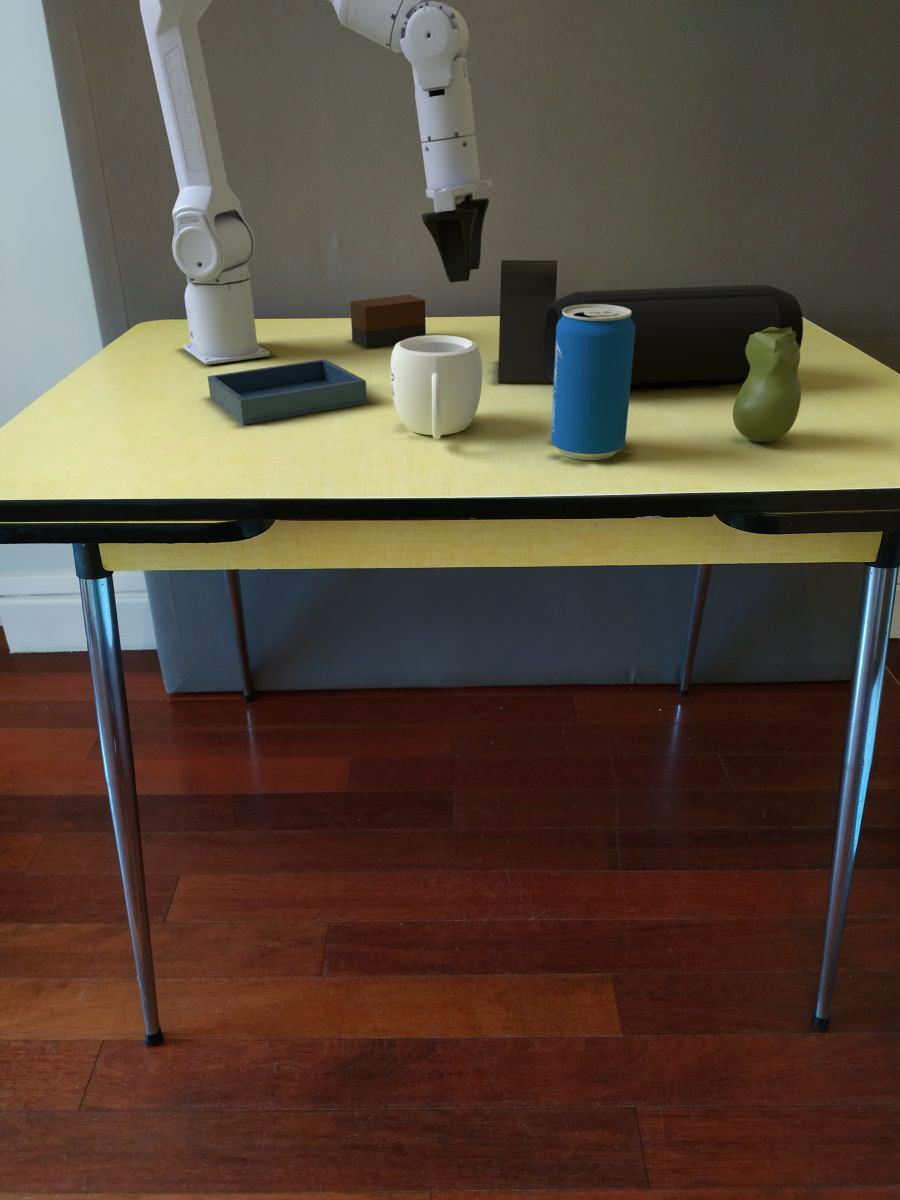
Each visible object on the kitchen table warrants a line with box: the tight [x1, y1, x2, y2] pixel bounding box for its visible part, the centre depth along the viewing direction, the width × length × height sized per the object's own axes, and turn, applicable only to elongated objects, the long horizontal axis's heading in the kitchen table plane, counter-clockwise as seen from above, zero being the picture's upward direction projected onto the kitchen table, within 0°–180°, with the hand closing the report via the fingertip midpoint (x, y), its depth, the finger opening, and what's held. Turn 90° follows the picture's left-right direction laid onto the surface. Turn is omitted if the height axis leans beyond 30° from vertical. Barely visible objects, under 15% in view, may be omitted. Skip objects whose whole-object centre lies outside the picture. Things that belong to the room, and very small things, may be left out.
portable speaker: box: [543, 284, 804, 391], centre depth 96 cm, size 26×10×10 cm, turn 99°
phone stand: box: [497, 259, 558, 385], centre depth 100 cm, size 9×6×12 cm, turn 175°
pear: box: [732, 327, 802, 443], centre depth 80 cm, size 6×5×10 cm
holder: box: [207, 358, 368, 426], centre depth 93 cm, size 10×13×2 cm
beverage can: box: [550, 304, 635, 461], centre depth 77 cm, size 6×6×12 cm
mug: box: [389, 334, 483, 441], centre depth 83 cm, size 12×8×8 cm
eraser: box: [349, 294, 427, 349], centre depth 116 cm, size 4×8×5 cm, turn 121°
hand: (464, 275), depth 101 cm, fingers open, 7 cm apart
